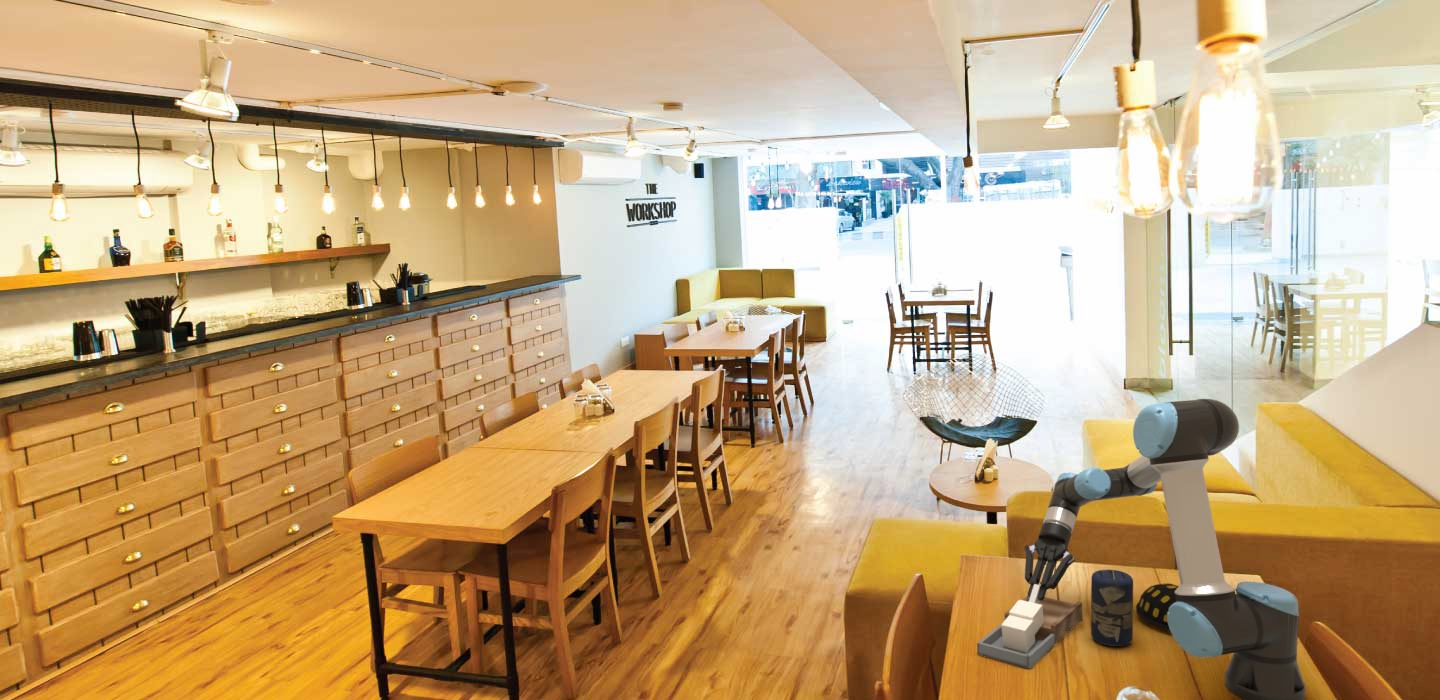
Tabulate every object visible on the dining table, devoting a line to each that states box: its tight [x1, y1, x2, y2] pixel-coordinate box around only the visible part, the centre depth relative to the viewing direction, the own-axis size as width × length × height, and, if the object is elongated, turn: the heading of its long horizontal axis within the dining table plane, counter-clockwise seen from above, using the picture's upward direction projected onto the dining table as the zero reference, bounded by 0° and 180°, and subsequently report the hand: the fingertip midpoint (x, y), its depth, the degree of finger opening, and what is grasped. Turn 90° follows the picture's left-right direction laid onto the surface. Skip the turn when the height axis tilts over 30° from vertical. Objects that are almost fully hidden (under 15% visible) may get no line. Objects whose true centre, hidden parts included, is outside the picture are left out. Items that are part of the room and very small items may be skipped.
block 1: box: [1008, 599, 1044, 634], centre depth 232 cm, size 6×6×5 cm
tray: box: [976, 623, 1056, 670], centre depth 228 cm, size 15×13×3 cm
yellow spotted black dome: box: [1135, 582, 1180, 631], centre depth 239 cm, size 16×9×20 cm
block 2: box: [1001, 615, 1035, 653], centre depth 228 cm, size 6×6×5 cm
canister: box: [1090, 569, 1134, 647], centre depth 229 cm, size 10×10×18 cm
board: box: [1004, 595, 1083, 645], centre depth 240 cm, size 18×13×5 cm
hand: (1031, 610), depth 235 cm, fingers closed
